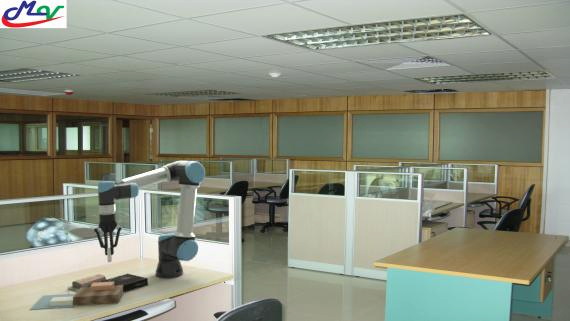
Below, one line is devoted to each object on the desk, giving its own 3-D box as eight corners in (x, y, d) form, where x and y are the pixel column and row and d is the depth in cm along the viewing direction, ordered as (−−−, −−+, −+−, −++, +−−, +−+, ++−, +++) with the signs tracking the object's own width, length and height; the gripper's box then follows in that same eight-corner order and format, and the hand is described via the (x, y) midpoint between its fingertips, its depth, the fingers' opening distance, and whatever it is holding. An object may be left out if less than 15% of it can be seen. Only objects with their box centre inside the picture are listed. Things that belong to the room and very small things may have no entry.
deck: (123, 293, 244) (122, 285, 244) (118, 302, 229) (118, 294, 229) (80, 295, 241) (80, 287, 240) (73, 305, 226) (72, 297, 226)
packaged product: (96, 272, 266) (109, 275, 261) (96, 281, 266) (109, 284, 261) (67, 281, 251) (79, 283, 245) (67, 290, 251) (79, 293, 246)
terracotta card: (114, 285, 243) (114, 281, 243) (112, 289, 237) (112, 285, 237) (93, 287, 241) (93, 282, 241) (90, 290, 235) (90, 286, 235)
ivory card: (76, 300, 232) (75, 296, 232) (72, 304, 226) (72, 300, 226) (53, 301, 230) (53, 297, 230) (49, 306, 225) (49, 301, 224)
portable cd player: (127, 280, 267) (126, 273, 267) (147, 285, 258) (147, 278, 258) (100, 288, 254) (100, 280, 254) (121, 294, 244) (121, 286, 244)
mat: (82, 293, 243) (82, 293, 243) (72, 307, 224) (72, 306, 224) (43, 296, 240) (43, 295, 240) (29, 310, 221) (29, 309, 221)
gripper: (91, 215, 231) (94, 264, 232) (120, 213, 233) (122, 262, 235) (95, 212, 238) (97, 260, 240) (122, 211, 240) (125, 258, 242)
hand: (109, 261), depth 237 cm, fingers closed
